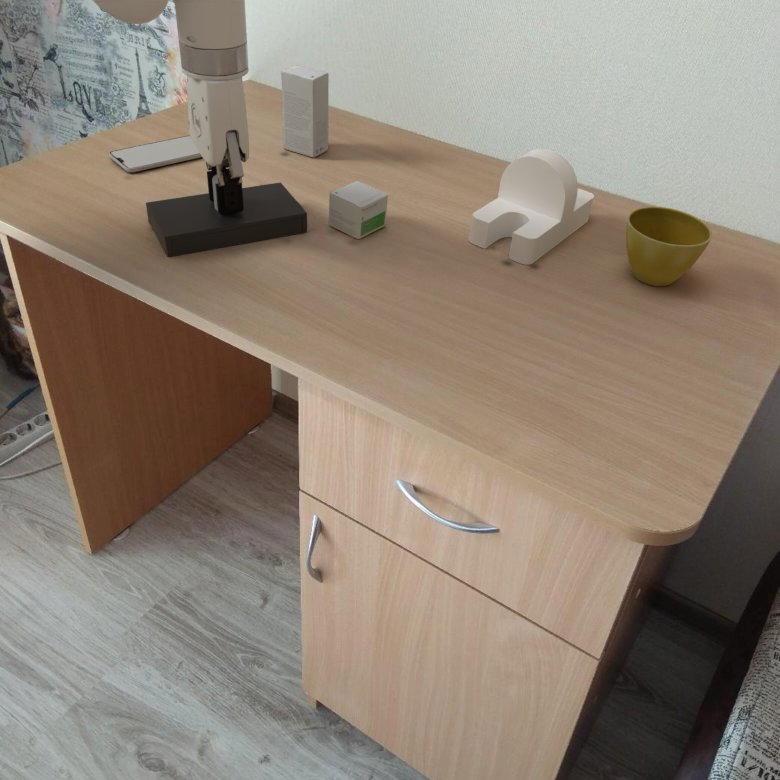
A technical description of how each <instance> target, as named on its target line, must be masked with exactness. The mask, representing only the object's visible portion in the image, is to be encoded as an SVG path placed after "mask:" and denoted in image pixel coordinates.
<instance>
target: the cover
mask: <svg viewBox="0 0 780 780" xmlns="http://www.w3.org/2000/svg"><path fill="white" fill-rule="evenodd" d="M212 182H213V193H214V202H212V201H211V200H210V199H209V192H208V193H207V192H206V193H201V194H194V195H188V196H187V195H186V196H181V197H175V198H174V197H173V198H167V199H160V200H154V201H148V202H145V207H146V214H147V215H146V216H147V220H148V221H147V222H148V224H149V226H150V228H151V229H152V231H153V233H154V235H155V236H156V238H157V240H158V243H159V244H160V246H161V247H162V249H163V251H164V253H165V255H166V257H167V258H170V257H176V256H181V255H187V254H191V253H197V252H204V251H211V250H215V249H220V248H225V247H231V246H237V245H243V244H248V243H255V242H260V241H265V240H266V241H267V240H271V239H275V238H281V237H282V238H283V237H287V236H294V235H298V234H304V233H305V234H306V233H308V211H306V210H305V209H304V207H303V206H302V205H301V204H300V203H299V202H298V201H297V199H296V198H295V197H294V196H293V195H292V194H291V192H290V191H289V190H288V189H287V188H286V187H285V186H284V185H283V183H282V182H275V183H267V184H260V185H253V186H248V187H247V186H246V187H242V192H243V207H244V209H243V211H242V212H237V213H231V214H225V215H220V214H219V212H218V207H217V195H216V184H218V178H217V175H215V176H214V177H213V178H212Z"/></svg>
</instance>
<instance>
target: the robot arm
mask: <svg viewBox="0 0 780 780" xmlns="http://www.w3.org/2000/svg"><path fill="white" fill-rule="evenodd" d="M91 1H93V3H94V4H96V5H97V6H98V7H99V8H100V9H101V10H103V11H104V12H105V13H106V14H108V15H109V16H111V17H113V18H114V19H116V20H118V21H120V22H123V23H126V24H132V25H143V24H147V23H150V22H152V21H153V20H155V19H157V18H158V17H159V16H161V14H163V12H164V11H165V9H166V7H167V6H168V4H169V0H91ZM171 1H172V2H173V4H174V7H175V8H174V10H175V19H176V20H175V21H176V28H177V38H178V46H179V48H178V49H179V56H180V65H181V72H182V73H183V74H184V75H185V76H186V97H187V98H186V99H187V112H188V113H187V114H188V129H189V135H190V138H191V140H192V142H193V144H194V146H195V147H196V149H197V150H198V151H199V153H200V154H201V156H202V157H201V158H203V161H205V167H206V169H207V171H206V179H207V187H208V188H207V191H208V193H209V199H210V200H211V201H212V202H214V193H213V182H212V178H213V177H214V176H215V175H217V178H218V184H216V195H217V207H218V212H219V214H220V215H225V214H231V213H237V212H242V211H243V209H244V207H243V192H242V188H243V178H244V175H245V174H244V168H243V164H242V163H246V162H247V161H248V160H249V157H250V139H249V137H250V136H249V125H248V115H247V105H246V104H247V103H246V93H245V89H244V88H245V87H244V83H243V77H245V76H246V75H247V74H248V73H249V71H250V70H249V69H250V68H249V52H248V50H249V49H248V35H247V34H248V33H247V18H246V0H171Z"/></svg>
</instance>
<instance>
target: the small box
mask: <svg viewBox="0 0 780 780" xmlns="http://www.w3.org/2000/svg"><path fill="white" fill-rule="evenodd" d="M328 195H329V199H328V225H329V226H330V227H332V228H334V229H336V230H338V231H339V232H342V233H344V234H346V235H348V236H350V237H351V238H353V239H356V240H360V239H362V238H364V237H366V236H368V235H370V234H371V233H374V232H376V231H378V230H380V229H382V228H385V227H386V223H387V212H388V211H387V209H388V197H389V194H388V193H386V192H384V191H382V190H380V189H378V188H375V187H373V186H370V185H369V184H367V183H364V182H362V181H360V180H356V181H354V182H351V183H349V184H347V185H345V186H342V187H340V188H337V189H335V190H332V191H331V192H329V193H328Z"/></svg>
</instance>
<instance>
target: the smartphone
mask: <svg viewBox="0 0 780 780" xmlns="http://www.w3.org/2000/svg"><path fill="white" fill-rule="evenodd" d="M109 158H110V159H111V160H112V161H113V162H114V163H116V164H117V165H118V166H120V167H121V168H122V169H123V170H124V171H126V172H127V173H137V172H141V171H145V170H150V169H155V168H159V167H163V166H167V165H172V164H173V165H174V164H177V163H181V162H186V161H190V160H191V161H192V160H195V159H200V158H203V157H202V156H201V154H200V153H199V151H198V150H197V149H196V147H195V146H194V144H193V142H192V140H191V138H190V134H189V135H188V134H187V135H183V136H179V137H174V138H168V139H164V140H159V141H155V142H150V143H144V144H140V145H134V146H130V147H125V148H119V149H115V150H111V151H110V152H109Z"/></svg>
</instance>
